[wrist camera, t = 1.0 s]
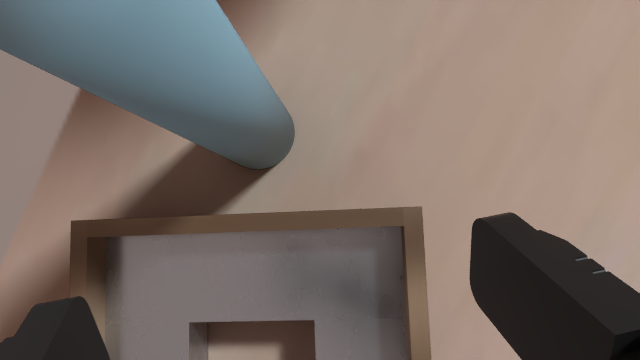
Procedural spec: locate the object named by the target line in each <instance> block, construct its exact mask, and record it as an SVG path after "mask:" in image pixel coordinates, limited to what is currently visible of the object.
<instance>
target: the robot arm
mask: <svg viewBox="0 0 640 360" xmlns="http://www.w3.org/2000/svg"><path fill="white" fill-rule="evenodd" d="M470 285H471V290H472V293H473V296H474V298H475V300H476V302H477V304H478V306H479V307H480V308H481V310H482V311H483V312H484V313H485V315H486V316H487V317H488V318H489V320H490V321H491V322H492V323H493V325H494V326H495V327H496V328H497V329H498V331H499V332H500V333H501V334H502V336H503V337H504V338H505V339H506V341H507V342H508V343H509V344H510V346H511V347H512V348H513V349H514V351H515V352H516V353H517V354H518V356H519V357H520V358H521V359H522V360H640V293H638V292H637V291H635V290H634V289H633V288H631V287H630V286H628V285H627V284H626V283H624V282H623V281H622V280H620V279H619V278H617V277H616V276H615V275H613V274H612V273H611V272H609V271H608V272H606V271H605V269H604V267H602V266H601V265H599V264H598V263H597V262H595V261H594V260H593V259H588V258H587V255H586V254H584V253H583V252H582V251H580V250H579V249H577V248H576V247H575V246H573V245H572V244H570V243H569V242H568V241H566V240H564V239H561V238H559V237H556V236H554V235H551V234H549V233H547V232H544V231H542V230H538V231H537V230H536V229H534V228H533V227H532V226H530V225H529V224H528V223H527V222H525V221H524V220H523V219H521V218H520V217H519V216H517V215H516V214H514V213H510V212H509V213H504V214H499V215H494V216H489V217H484V218H479V219H476V220H475V221H474V223H473V226H472V238H471V260H470ZM0 360H110V357H109V354H108V351H107V349H106V346H105V344H104V342H103V339H102V337H101V334H100V332H99V329H98V327H97V324H96V322H95V319H94V317H93V315H92V312H91V310H90V307H89V305H88V303H87V301H86V300H85V299H84V298H83V297H81V296H77V297H72V298H67V299H62V300H56V301H51V302H46V303H41V304H37V305H35V306H34V307H33V308H32V309H31V310H30V312H29V314H28V315H27V317H26V318H25V320H24V321H23V323H22V325H21V326H20V328H19V329H18V331H17V333H16V334H15V336H14V337H10V338H6V339H5V340H4V341H3V342H1V343H0Z"/></svg>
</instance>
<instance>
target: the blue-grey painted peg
mask: <svg viewBox="0 0 640 360" xmlns="http://www.w3.org/2000/svg"><path fill="white" fill-rule="evenodd" d="M0 49H1V50H3V51H5V52H7V53H9V54H11V55H13V56H15V57H17V58H19V59H21V60H24V61H26V62H28V63H30V64H32V65H34V66H36V67H38V68H40V69H42V70H45V71H46V72H48V73H51V74H53V75H55V76H57V77H59V78H61V79H63V80H65V81H67V82H69V83H71V84H73V85H75V86H77V87H80V88H82V89H84V90H86V91H88V92H90V93H92V94H94V95H96V96H98V97H100V98H102V99H104V100H107V101H109V102H111V103H113V104H115V105H117V106H119V107H121V108H123V109H125V110H127V111H129V112H131V113H134V114H136V115H138V116H140V117H142V118H144V119H146V120H148V121H150V122H152V123H154V124H156V125H158V126H161V127H163V128H165V129H167V130H169V131H171V132H173V133H175V134H177V135H179V136H181V137H183V138H185V139H188V140H190V141H192V142H194V143H196V144H198V145H200V146H202V147H204V148H206V149H208V150H210V151H212V152H215V153H217V154H219V155H221V156H223V157H225V158H227V159H229V160H231V161H233V162H235V163H237V164H239V165H242V166H244V167H246V168H250V169H266V168H269V167H272V166H274V165H276V164H278V163H279V162H280V161H282V160H283V159H284V158H285V157H286V155H287V154H288V153H289V151H290V149H291V147H292V145H293V141H294V134H295V130H294V124H293V121H292V118H291V116H290V114H289V113H288V111H287V109H286V108H285V106H284V105H283V103H282V102H281V100H280V99H279V97H278V96H277V94H276V92H275V91H274V89H273V88H272V86H271V85H270V83H269V82H268V80H267V79H266V77H265V75H264V74H263V72H262V71H261V69H260V68H259V66H258V65H257V63H256V62H255V60H254V58H253V57H252V55H251V54H250V52H249V51H248V49H247V48H246V46H245V45H244V43H243V41H242V40H241V38H240V37H239V35H238V34H237V32H236V31H235V29H234V28H233V26H232V24H231V23H230V21H229V20H228V18H227V17H226V15H225V14H224V12H223V11H222V9H221V7H220V6H219V4H218V3H217V1H216V0H0Z"/></svg>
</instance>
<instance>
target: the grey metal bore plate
mask: <svg viewBox="0 0 640 360" xmlns="http://www.w3.org/2000/svg"><path fill="white" fill-rule="evenodd" d="M288 320H314V324H315V352H316V360H408V344H407V326H406V309H405V291H404V273H403V255H402V238H401V226H388V227H361V228H334V229H306V230H279V231H252V232H225V233H198V234H171V235H144V236H116V237H106V283H105V346H106V349H107V351H108V354H109V357H110V360H208V323H207V322H234V321H288Z"/></svg>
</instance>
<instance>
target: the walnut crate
mask: <svg viewBox="0 0 640 360" xmlns="http://www.w3.org/2000/svg"><path fill="white" fill-rule="evenodd" d="M388 226H401V238H402V255H403V273H404V291H405V309H406V326H407V344H408V360H431V347H430V331H429V315H428V299H427V282H426V266H425V250H424V234H423V217H422V207H399V208H374V209H349V210H325V211H300V212H275V213H251V214H226V215H201V216H177V217H152V218H127V219H103V220H78V221H71V245H70V294H69V298H72V297H77V296H81V297H83V298H84V299H85V300H86V301H87V303H88V305H89V307H90V310H91V312H92V315H93V317H94V319H95V322H96V324H97V327H98V329H99V332H100V334H101V337H102V339H103V342H104V344H105V283H106V237H116V236H144V235H171V234H198V233H225V232H252V231H279V230H306V229H334V228H361V227H388Z"/></svg>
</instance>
